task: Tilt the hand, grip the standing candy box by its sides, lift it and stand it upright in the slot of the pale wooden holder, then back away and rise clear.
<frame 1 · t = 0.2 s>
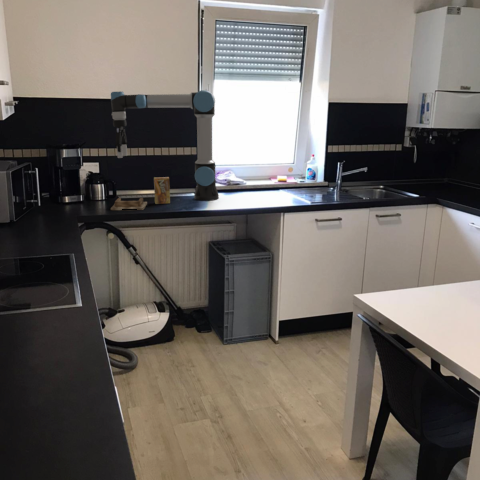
hand: (122, 156, 310), 28 cm above the countertop, tool pointing down, fingers open, 13 cm apart
slot holder: (129, 206, 307), on the countertop
candy box: (162, 203, 317), on the countertop
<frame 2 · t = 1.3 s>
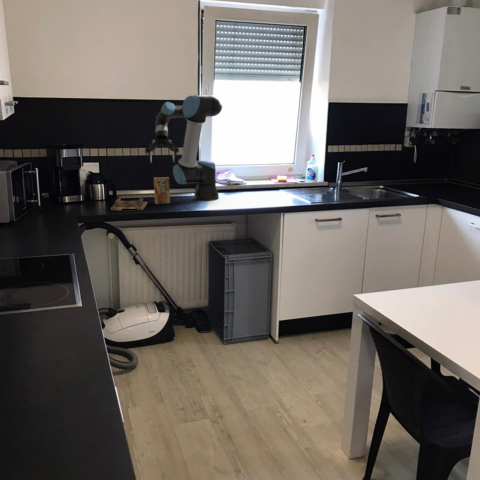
hand: (162, 161, 322), 24 cm above the countertop, tool tilted 45°, fingers open, 13 cm apart
nothing on the countertop moved.
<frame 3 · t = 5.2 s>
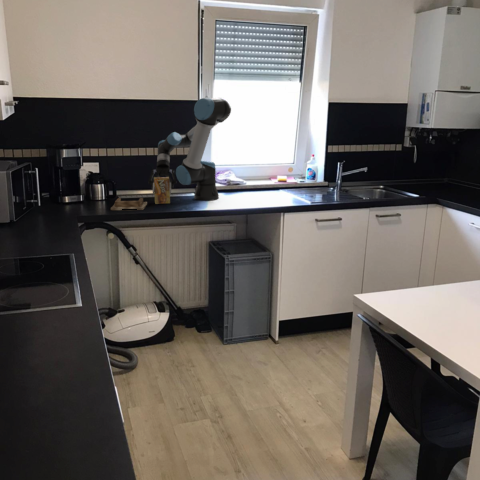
hand: (161, 193, 314), 6 cm above the countertop, tool tilted 45°, fingers closed on candy box, 9 cm apart
candy box: (162, 203, 317), on the countertop, touching gripper
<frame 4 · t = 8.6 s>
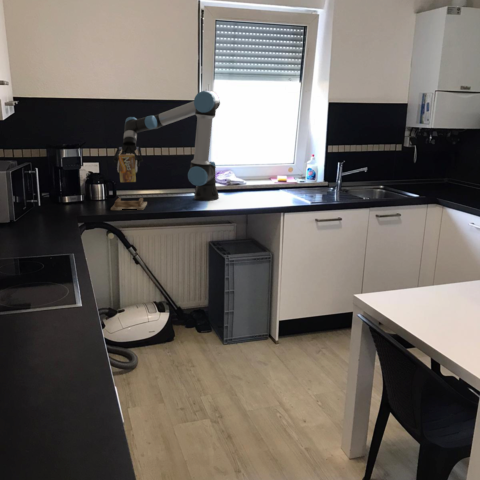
hand: (127, 170, 300), 21 cm above the countertop, tool tilted 45°, fingers closed on candy box, 9 cm apart
candy box: (128, 182, 303), point 14 cm above the countertop, touching gripper
when the fingers open (9 cm above the countertop, at t = 11.9 s): candy box drops 1 cm, resting on slot holder.
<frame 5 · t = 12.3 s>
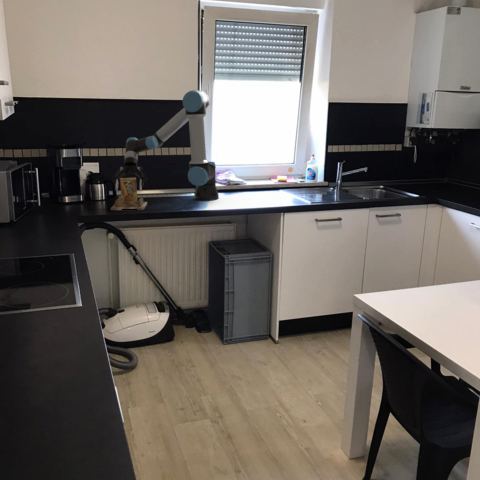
hand: (128, 190, 304), 10 cm above the countertop, tool tilted 45°, fingers open, 13 cm apart
candy box: (129, 205, 306), point 1 cm above the countertop, touching slot holder
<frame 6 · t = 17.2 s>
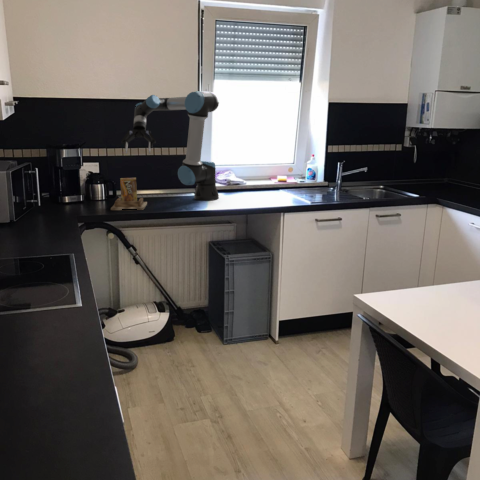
hand: (137, 152, 315), 30 cm above the countertop, tool tilted 45°, fingers open, 13 cm apart
nothing on the countertop moved.
at the end: candy box 0.2 cm off-centre on the slot holder, point 1.0 cm above the slot holder's base; candy box tilted 0°; the gripper is holding nothing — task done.
